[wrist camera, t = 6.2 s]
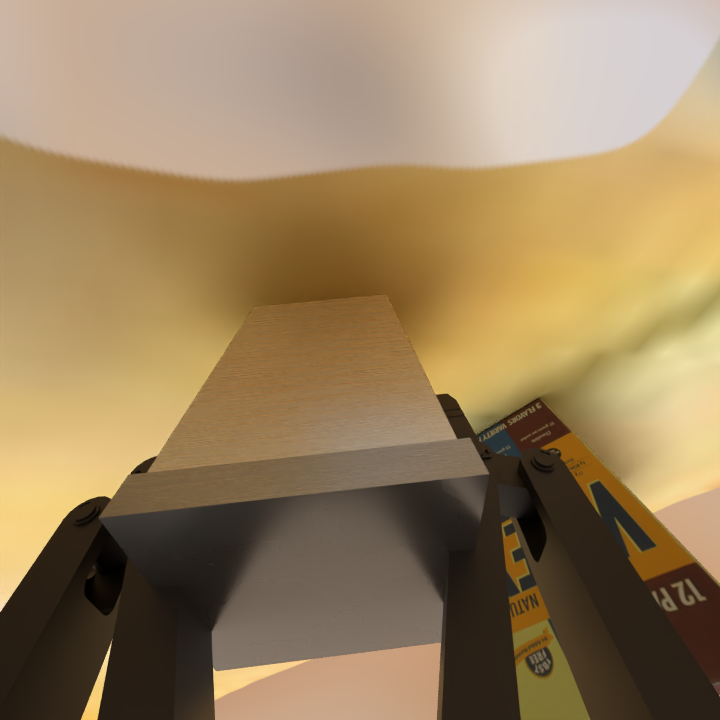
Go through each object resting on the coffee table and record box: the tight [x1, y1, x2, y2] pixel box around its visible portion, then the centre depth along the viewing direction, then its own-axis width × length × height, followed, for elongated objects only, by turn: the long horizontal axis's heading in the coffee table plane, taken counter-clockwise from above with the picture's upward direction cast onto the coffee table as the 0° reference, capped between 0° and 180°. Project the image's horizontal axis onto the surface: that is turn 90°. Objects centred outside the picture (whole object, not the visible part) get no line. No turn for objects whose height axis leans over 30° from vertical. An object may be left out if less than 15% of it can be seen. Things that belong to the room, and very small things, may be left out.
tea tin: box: [99, 294, 489, 671], centre depth 13 cm, size 7×7×12 cm
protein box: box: [477, 398, 720, 720], centre depth 21 cm, size 10×15×16 cm
